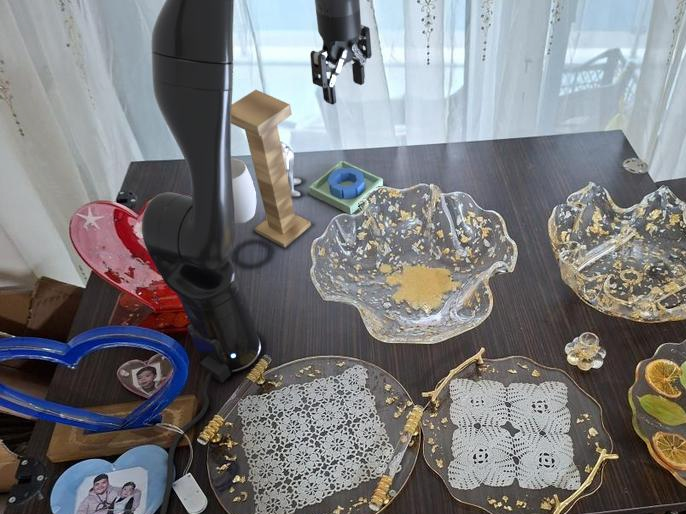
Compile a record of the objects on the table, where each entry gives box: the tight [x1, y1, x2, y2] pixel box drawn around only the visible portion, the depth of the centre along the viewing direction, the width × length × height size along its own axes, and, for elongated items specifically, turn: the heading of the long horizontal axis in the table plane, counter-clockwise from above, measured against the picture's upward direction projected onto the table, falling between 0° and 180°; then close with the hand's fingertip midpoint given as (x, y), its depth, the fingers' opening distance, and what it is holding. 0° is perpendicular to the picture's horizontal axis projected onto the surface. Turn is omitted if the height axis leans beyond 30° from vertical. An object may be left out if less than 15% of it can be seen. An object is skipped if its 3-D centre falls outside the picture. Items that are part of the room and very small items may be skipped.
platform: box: [231, 89, 312, 249], centre depth 115 cm, size 8×8×28 cm
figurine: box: [280, 141, 302, 198], centre depth 129 cm, size 7×4×12 cm, turn 4°
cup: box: [231, 157, 257, 224], centre depth 113 cm, size 7×7×21 cm
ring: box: [328, 168, 365, 200], centre depth 132 cm, size 8×8×2 cm
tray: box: [308, 160, 384, 215], centre depth 133 cm, size 11×11×2 cm
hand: (345, 92), depth 116 cm, fingers open, 8 cm apart
